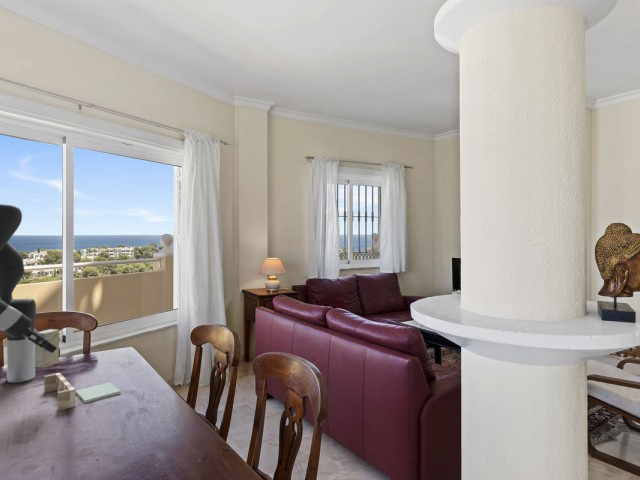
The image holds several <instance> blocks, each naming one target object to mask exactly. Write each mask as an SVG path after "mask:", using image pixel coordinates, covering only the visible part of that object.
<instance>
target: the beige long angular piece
mask: <svg viewBox="0 0 640 480" xmlns="http://www.w3.org/2000/svg"><path fill="white" fill-rule="evenodd" d="M43 378H44V379H43V380H44V381H43V382H44V385H43V387H44V389H43V390H44V393H49V392H53V391H54V392H55V391H56V392H57V400H56V401H57V402H56V403H57V406H56V407H57V411H59V412H60V411H62V410H66V409H70V408H74V407H76V388H75V387H74V386H73V385H72V384H71V383H70V382H69V380H67V379H66V378H65V376H64V375H63V374H61V373H60V372H57V373H52V374H48V375H44V377H43Z"/></svg>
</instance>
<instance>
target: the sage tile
mask: <svg viewBox="0 0 640 480" xmlns="http://www.w3.org/2000/svg"><path fill="white" fill-rule="evenodd" d="M75 395H77V397H78V398H80V400H81V401H82V402H83V404H87V403H90V402H95V401H99V400H102V399H105V398H109V397H113V396H116V395H117V396H118V395H121V390H120V389H119V388H118V387H117V386H115V385H114V384H113V383H111V382H110V381H109V382H105V383H101V384H98V385H93V386H89V387H85V388H80V389H78V390H75Z"/></svg>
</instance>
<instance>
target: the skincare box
mask: <svg viewBox="0 0 640 480" xmlns="http://www.w3.org/2000/svg"><path fill="white" fill-rule="evenodd" d="M38 333H40V334H41V335H42V336H44V339H45V340H48V342H49V343H51V344H52V345H54V346H55V347H56V348H57V349H56V350H55V351H54V352H53V353H51V352H49V351H48V350H46V349H45V348H42V347H40V346H39V345H37V344H35V368H47V367H51V366H53V365H57V364H58V363H59V362H60V345H59V344H60V342H59V341H60V329H55V328H54V329H52V328H49V329H46V330H45V329H44V330H42V331H38ZM43 342H44V341H43V340H41V341H40V342H39V343H40V344H42V343H43Z"/></svg>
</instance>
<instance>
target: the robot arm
mask: <svg viewBox="0 0 640 480" xmlns="http://www.w3.org/2000/svg"><path fill="white" fill-rule="evenodd" d="M22 220H23V214H22V210H21V209H20V207H18V206H17V205H12V204H11V205H10V204H0V331H2V332H3V333H5V334H6V360H7V361H6V371H7V372H6V373H7V374H6V376H7V377H6V379H7V380H6V381H7V383H11V384H15V383H16V384H17V383H24V382H27V381H30V380H33V379H34V378H35V377H36V367H35V344H37V345H39V346H40V347H42V348H45V349H46V350H48V351H49V352H51V353H53V352H54V351H55V350H56V349H57V348H56V347H55V346H54V345H52V344H51V343H49V342H48V340H45V339H44V336H42V335H41V334H40V333H38V332H39V331H38V330H37V328H36V313H37V303H36V301H35V299H33V298H15V299H14V298H13V292H14V290H15V289H16V287H17V286H18V284H19V283H20V281H21V280H22V279H23V276H24V274H25V265H24V260H23V256H22V255H21V253H20V252H19V251H18V250H17V249H16V248H15V247H14V245H12V244H11V243H10V242H9V241H10V239H11V238H12V237H13V236H14V235H15V232H16V231H17V230H18V229H19V227H20V225H21V223H22ZM41 340H43V341H44V342H43V343H42V344H40V343H39V342H40V341H41Z"/></svg>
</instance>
